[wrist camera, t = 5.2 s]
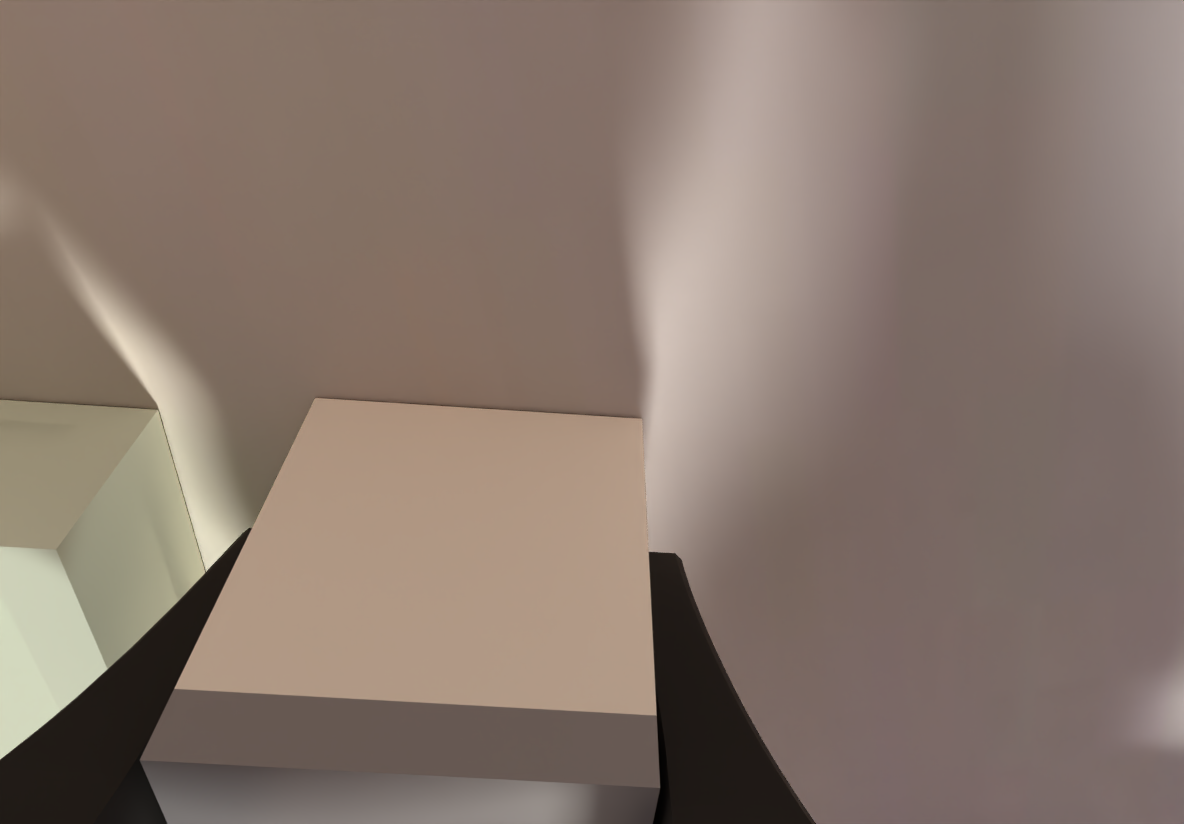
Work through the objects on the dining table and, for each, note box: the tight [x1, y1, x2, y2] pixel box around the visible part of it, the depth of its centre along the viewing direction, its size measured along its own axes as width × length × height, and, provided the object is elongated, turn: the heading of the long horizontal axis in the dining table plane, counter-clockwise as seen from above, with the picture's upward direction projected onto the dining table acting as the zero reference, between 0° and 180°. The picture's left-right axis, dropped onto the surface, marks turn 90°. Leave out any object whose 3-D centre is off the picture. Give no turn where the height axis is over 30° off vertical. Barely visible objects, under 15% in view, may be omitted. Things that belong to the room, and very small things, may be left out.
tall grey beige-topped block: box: [140, 398, 660, 824], centre depth 13 cm, size 5×8×6 cm, turn 176°
